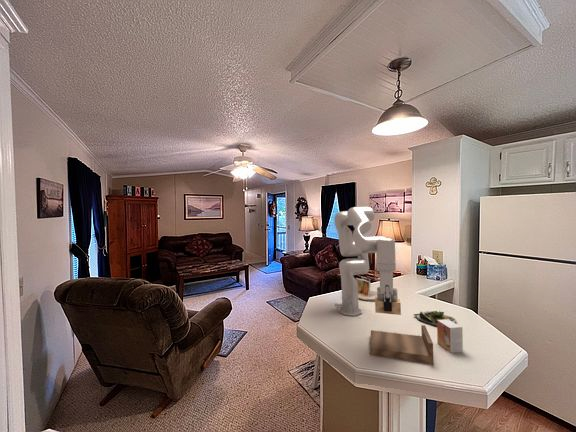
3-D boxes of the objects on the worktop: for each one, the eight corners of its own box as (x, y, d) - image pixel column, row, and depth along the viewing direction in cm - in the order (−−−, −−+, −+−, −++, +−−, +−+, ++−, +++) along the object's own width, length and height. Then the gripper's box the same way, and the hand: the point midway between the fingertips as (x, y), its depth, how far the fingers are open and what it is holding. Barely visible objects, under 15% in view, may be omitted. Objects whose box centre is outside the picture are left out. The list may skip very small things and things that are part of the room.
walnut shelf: (370, 354, 102) (369, 335, 102) (370, 336, 117) (370, 319, 117) (433, 364, 94) (433, 343, 94) (425, 343, 109) (425, 325, 109)
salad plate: (428, 310, 146) (428, 302, 146) (463, 321, 131) (462, 312, 131) (410, 319, 135) (409, 310, 135) (445, 331, 120) (445, 322, 120)
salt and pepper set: (375, 312, 106) (374, 289, 106) (375, 308, 111) (374, 286, 111) (400, 315, 103) (400, 291, 103) (399, 310, 108) (399, 287, 107)
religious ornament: (346, 295, 177) (346, 278, 177) (368, 291, 185) (368, 275, 185) (370, 306, 154) (369, 287, 154) (394, 301, 162) (393, 283, 162)
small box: (437, 343, 109) (436, 319, 109) (449, 342, 109) (448, 318, 109) (450, 353, 101) (449, 327, 101) (463, 352, 101) (462, 326, 101)
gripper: (376, 262, 116) (378, 301, 116) (377, 270, 100) (378, 315, 100) (394, 263, 113) (395, 302, 114) (397, 271, 97) (398, 317, 98)
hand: (387, 308), depth 107 cm, fingers closed on salt and pepper set, 5 cm apart
